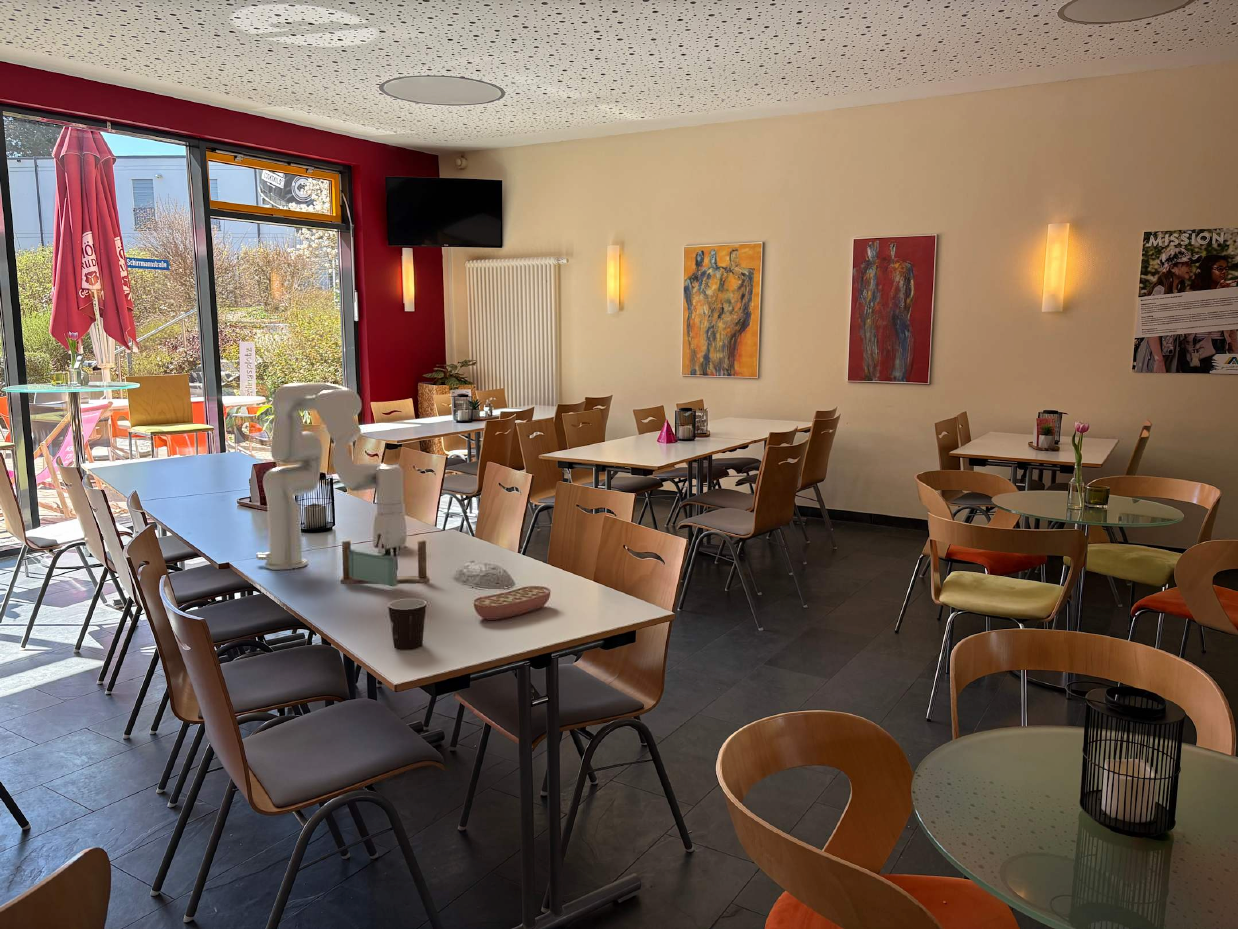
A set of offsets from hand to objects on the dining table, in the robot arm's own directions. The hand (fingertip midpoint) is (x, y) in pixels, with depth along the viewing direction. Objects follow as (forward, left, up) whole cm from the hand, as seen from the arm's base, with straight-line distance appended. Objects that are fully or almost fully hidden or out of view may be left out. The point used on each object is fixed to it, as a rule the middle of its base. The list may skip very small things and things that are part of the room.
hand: (391, 570), depth 252 cm
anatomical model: (+37, -29, -5) cm, 47 cm away
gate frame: (-3, +5, -5) cm, 7 cm away
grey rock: (+26, +5, -5) cm, 27 cm away
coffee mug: (+14, -55, -5) cm, 57 cm away
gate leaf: (-5, -1, -3) cm, 6 cm away
